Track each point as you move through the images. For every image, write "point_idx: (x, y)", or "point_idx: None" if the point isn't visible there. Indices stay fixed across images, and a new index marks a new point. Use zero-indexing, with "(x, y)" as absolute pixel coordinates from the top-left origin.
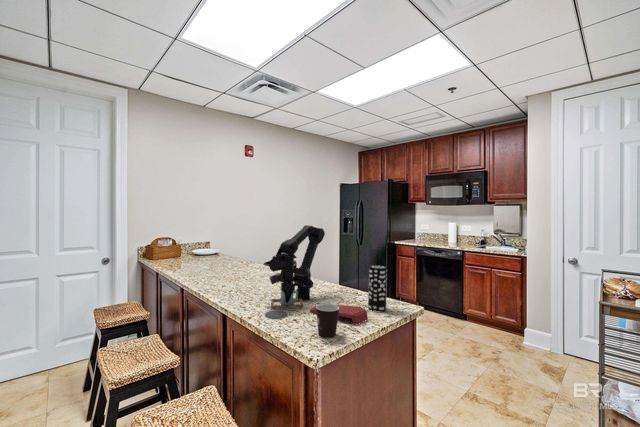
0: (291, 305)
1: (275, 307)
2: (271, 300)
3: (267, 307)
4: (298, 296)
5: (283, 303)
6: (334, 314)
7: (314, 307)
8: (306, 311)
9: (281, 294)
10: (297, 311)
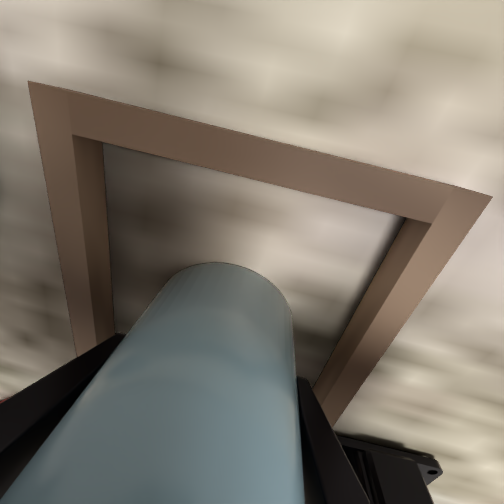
0: (89, 346)
1: (59, 163)
2: (384, 172)
3: (149, 38)
4: (356, 473)
5: (155, 298)
6: None
7: None
8: (30, 384)
9: (118, 402)
10: (20, 337)
